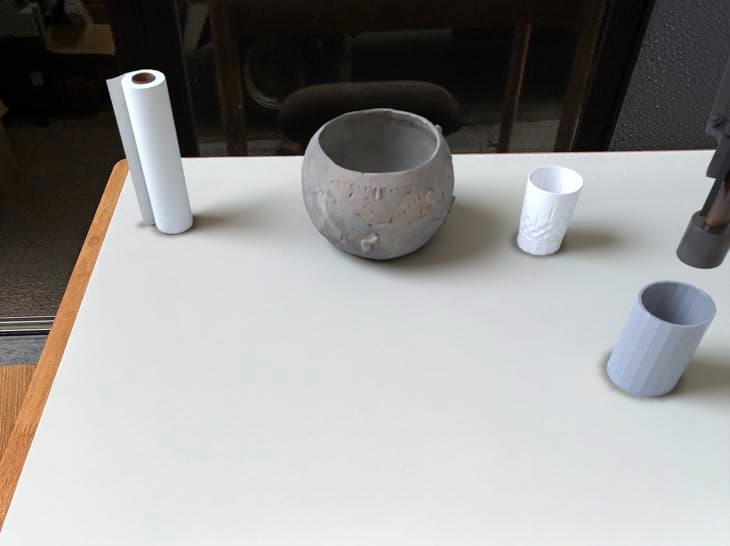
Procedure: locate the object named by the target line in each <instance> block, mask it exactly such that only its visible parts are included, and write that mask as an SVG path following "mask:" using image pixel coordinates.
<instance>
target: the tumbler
mask: <svg viewBox="0 0 730 546" xmlns="http://www.w3.org/2000/svg"><path fill="white" fill-rule="evenodd" d="M716 314H717V306H716V302H715V301H714V300H713V299H712V296H710V295H709V294H707V293H706V292H705V290H703V289H701V288H699V287H697V286H695V285H693V284H689V283H686V282H683V281H679V280H670V279H667V280H665V279H664V280H656V281H653V282H650V283H647V284H646V285H645V286H643V287H642V288H641V289H640V290H639V292H638V293H637V296H636V298H635V301H634V303H633V305H632V307H631V310H630V312H629V315H628V317H627V319H626V321H625V323H624V326H623V327H622V331H621V333H620V335H619V337H618V339H617V340H616V341H617V342H616V344H615V346H614V348H613V351H612V352H611V355H610V358H609V360H608V362H607V366H606V371H607V375H608V377H609V378H610V380H611V382H613V383H614V385H616V387H618V388H619V389H621V390H623V391H625V392H627V393H629V394H631V395H634V396H639V397H645V398H655V397H660V396H663V395H666V394H668V393H670V392H672V390H674V388H675V386H676V385H677V383H678V382H679V380H680V378H681V377H682V375H683V373H684V372H685V370H686V368H687V366H688V364H689V362H690V361H691V359H692V357H693V356H694V353H695V352H696V350H697V349H698V347H699V345H700V343H701V341H702V340H703V338H704V336H705V335H706V333H707V331H708V329H709V328H710V326H711V324H712V323H713V321H714V319H715V316H716Z"/></svg>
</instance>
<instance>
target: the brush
mask: <svg viewBox="0 0 730 546" xmlns="http://www.w3.org/2000/svg"><path fill="white" fill-rule="evenodd" d="M701 210H702V209H699V210H697V211H695V212H694V213H692V215H691V217H690V220H689V221H688V224H687V226H686V229H685V230H684V233H683V235H682V237H681V239H680V241H679V244H678V245H677V248H676V250H675V255H676V258H677V259H678V260H679V261H680V262H682V263H683V264H684V265H686V266H689V267H692V268H694V269H699V270H712V269H716V268H718V267H720V266H721V265H722V264H723V263H724V261H725V259H726V258H727V255H728V253H729V252H730V169H729V171H728V173H727V175H726V177H725V180H724V182H723V184H722V186H721V188H720V190H719V192H718V195H717V197H716V199H715V201H714V203H713V205H712V207H711V209H710V211H709V213H708V215H707V217H702V216H699V214H700V212H701Z"/></svg>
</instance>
